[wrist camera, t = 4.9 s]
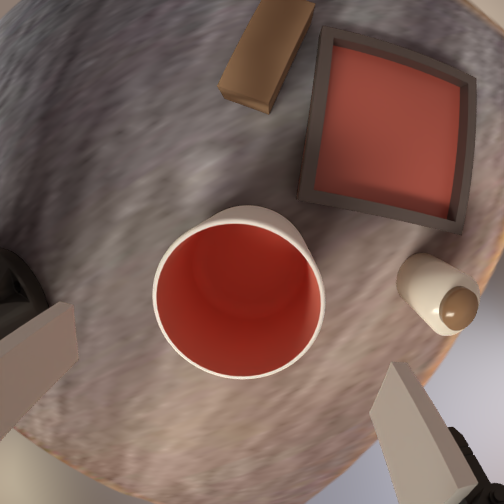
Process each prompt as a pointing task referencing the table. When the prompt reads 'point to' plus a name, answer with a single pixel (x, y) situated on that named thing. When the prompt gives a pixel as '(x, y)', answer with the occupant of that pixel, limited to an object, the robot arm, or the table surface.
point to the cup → (240, 294)
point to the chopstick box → (266, 53)
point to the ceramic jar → (438, 293)
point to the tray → (389, 133)
